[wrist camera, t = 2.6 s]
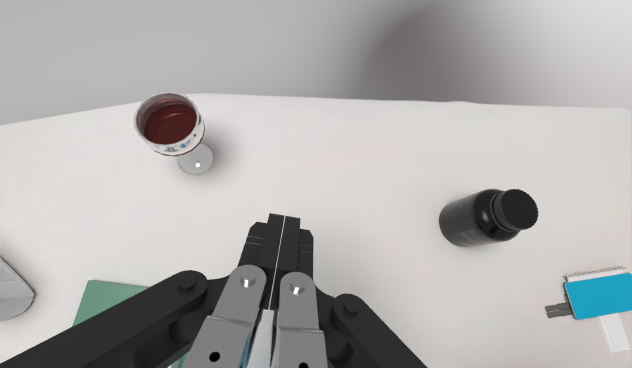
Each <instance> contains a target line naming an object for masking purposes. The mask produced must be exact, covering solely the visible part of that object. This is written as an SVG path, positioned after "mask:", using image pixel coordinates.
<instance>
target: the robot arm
mask: <svg viewBox="0 0 632 368" xmlns="http://www.w3.org/2000/svg"><path fill="white" fill-rule="evenodd" d="M283 221H284V216H283V215H277V214H271V213H270V214H269V218H268V222H267V223H261V222H256V223H255V224H254V225H253V226H252V227H251V228H250V230H249V233H248V237H247V239H246V243H245V245H244V248H243V251H242V254H241V257H240V260H239V263H238V266H237V268H236V269H234V270H233V271H232V273H231V274H230V275H228V276H226V277H224V278H220V279H212V280H207V278H206V277H205V276H204V275H203V274H202V273H200V272H198V271H193V270H188V271H182V272H179V273H177V274H175V275H173V276H171V277H169V278H167V279H165V280H163V281H161V282H159V283H157V284H155V285H153V286H151V287H149V288H147V289H145V290H143V291H142V292H140V293H138V294H136V295H134V296H132V297H130V298H128V299H126V300H124V301H122V302H120V303H118V304H116V305H114V306H112V307H110V308H108V309H106V310H104V311H102V312H100V313H99V314H97V315H95V316H93V317H91V318H89V319H87V320H85V321H83V322H81V323H79V324H77V325H75V326H73V327H71V328H69V329H67V330H65V331H63V332H61V333H59V334H57V335H56V336H54V337H52V338H50V339H48V340H46V341H44V342H42V343H40V344H38V345H36V346H34V347H32V348H30V349H28V350H26V351H24V352H22V353H20V354H18V355H16V356H14V357H13V358H11V359H9V360H7V361H5V362H3V363H1V364H0V368H168V367H169V366H170V365H172V364H173V363H174V362H176V361H177V360H178V359H180V358H181V357H182V356H184V355H185V354H186V353H188V352H189V351H190V352H189V354H188V356H187V358H186V360H185V362H184V365H183V367H182V368H247V366H248V362H249V359H250V355H251V352H252V348H253V344H254V341H255V337H256V334H257V330H258V326H259V323H260V321H261V318H262V313H263V309H267V310H268V307H269V301H270V296H271V290H272V285H273V279H274V274H275V268H276V262H277V257H278V262H277V268H276V274H275V280H274V286H273V292H272V298H271V304H270V310H274V317H273V323H272V328H271V341H270V356H269V368H427V367H426V366H425V365H424V364H423V363H422V361H421V360H420V359H419V358H418V357H417V356H416V355H415V354H414V353H413V352H412V351H411V350H410V349H409V348H408V347H407V346H406V345H405V344H404V343H403V342H402V341H401V340H400V339H399V338H398V337H397V335H396V334H395V333H394V332H393V331H392V330H391V329H390V328H389V327H388V326H387V325H386V324H385V323H384V322H383V321H382V320H381V319H380V318H379V317H378V316H377V315H376V314H375V313H374V312H373V311H372V309H371V308H370V307H369V306H368V305H367V304H366V303H365V302H364V301H363V300H362V299H360V298H359V297H357V296H355V295H352V294H341V295H339V296H337V297H336V298H334V297H331V296H329V295H327V294H325V293H323V292H322V291H320V290H319V289H318V288H317V287H316V285H315V283H314V281H313V236H312V234H311V232H310V231H309V230H304V229H300V218H295V217H289V216H286V217H285V223H284V228H283V234H282V239H281V233H282V227H283ZM280 239H281V245H280ZM279 245H280V250H279ZM278 251H279V256H278Z"/></svg>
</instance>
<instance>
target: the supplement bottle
mask: <svg viewBox="0 0 632 368" xmlns="http://www.w3.org/2000/svg"><path fill="white" fill-rule="evenodd" d="M537 217H538V208H537V205H536V203H535V201H534V200H533V199H532V197H530V195H529V194H527V193H526V192H523V191H522V190H519V189H517V190H516V189H510V190H507V191H502V190H498V189H487V190H483V191H481V192H478V193H476V194H473V195H470V196H468V197H465V198H463V199H460V200H458V201H455V202H453V203H450V204H449V205H447V206H446V207H445V208H444V209H443V211H442V212H441V215H440V227H441V230H442V232H443V234H444V235H445V237H446V238H447V239H448V240H449V241H450V242H452V243H454V244H456V245H459V246H474V245H481V244H489V243H497V242H504V241H508V240H511V239H513V238H514V237H515V236H517V234H518V233H519V232H520V231H521V230H525V229H528V228H531V227H532V226H533V225H534V224H535V223H536V221H537Z"/></svg>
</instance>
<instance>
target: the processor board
mask: <svg viewBox="0 0 632 368" xmlns="http://www.w3.org/2000/svg"><path fill="white" fill-rule="evenodd" d="M147 288H149V287H141V286H134V285H126V284H118V283H110V282H102V281H94V280H90V281H88V283H87V286H86V288H85V291H84V294H83V297H82V300H81V303H80V306H79V309H78V312H77V315H76V318H75V320H74V323H73V326H75V325H77V324H79V323H81V322H83V321H85V320H87V319H89V318H91V317H93V316H95V315H97V314H99V313H100V312H102V311H104V310H106V309H108V308H110V307H112V306H114V305H116V304H118V303H120V302H122V301H124V300H126V299H128V298H130V297H132V296H134V295H136V294H138V293H140V292H142V291H143V290H145V289H147ZM73 326H72V327H73ZM189 352H190V351H189ZM189 352H188V353H186V354H185V355H184V356H182V357H181V358H180V359H178V360H177V361H176V362H174V363H173V364H172V365H170V366H169V367H168V368H182V367H183V365H184V362H185V360H186V358H187V356H188V354H189Z"/></svg>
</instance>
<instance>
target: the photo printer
mask: <svg viewBox="0 0 632 368" xmlns="http://www.w3.org/2000/svg"><path fill="white" fill-rule="evenodd" d="M33 296H34V293H33V291H32V290H31V288H30V287H29V286H28V285H27V284H26V283H25V282H24V281H23V279H22V278H21V277H20V276H19V275H18V274H17V273H16V272H15V271H14V270H13V269H12V268H11V267H10V266H9V265H8V264H6V263H5V262H4V261H3V260H2V258H0V321H5V320H8V319H9V318H10V317H14V316H17V315H19V314H21V313H23V312H24V311H25V310H26V309H27V308H28V307H29V306H30V305H31V303H32V300H33Z"/></svg>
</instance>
